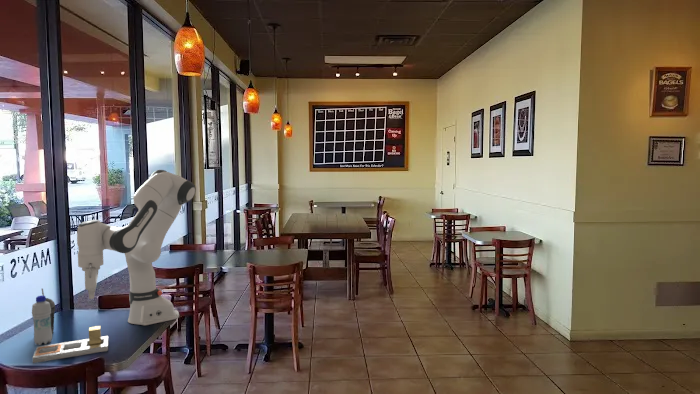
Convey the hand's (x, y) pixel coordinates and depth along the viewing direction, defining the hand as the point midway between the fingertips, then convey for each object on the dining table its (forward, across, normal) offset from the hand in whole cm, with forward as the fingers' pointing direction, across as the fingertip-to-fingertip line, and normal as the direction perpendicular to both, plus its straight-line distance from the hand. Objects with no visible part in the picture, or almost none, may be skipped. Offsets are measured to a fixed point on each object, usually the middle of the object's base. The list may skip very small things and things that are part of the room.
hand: (92, 295), depth 189 cm
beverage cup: (+22, +27, +19) cm, 40 cm away
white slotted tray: (+22, 0, +8) cm, 23 cm away
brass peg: (+22, 0, 0) cm, 22 cm away
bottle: (+22, +15, +19) cm, 33 cm away
